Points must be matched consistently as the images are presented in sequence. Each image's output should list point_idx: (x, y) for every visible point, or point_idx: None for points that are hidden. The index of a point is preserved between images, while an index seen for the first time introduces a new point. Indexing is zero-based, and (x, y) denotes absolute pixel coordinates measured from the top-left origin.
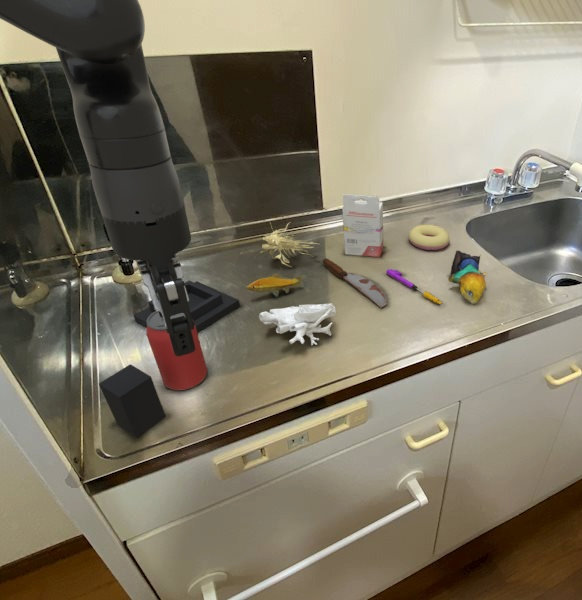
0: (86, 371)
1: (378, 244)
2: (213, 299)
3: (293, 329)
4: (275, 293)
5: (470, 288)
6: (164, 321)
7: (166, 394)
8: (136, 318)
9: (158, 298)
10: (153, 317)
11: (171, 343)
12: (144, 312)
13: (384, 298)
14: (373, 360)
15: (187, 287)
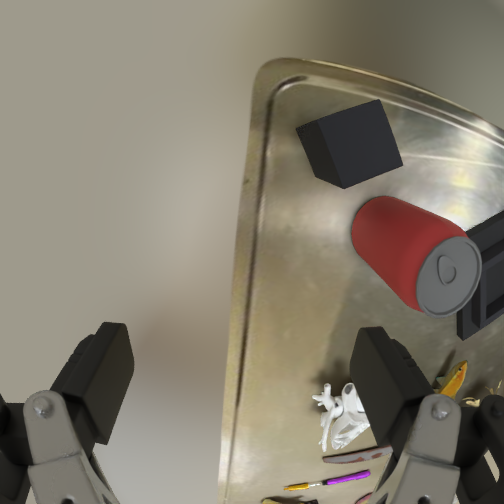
0: (465, 114)
1: None
2: (480, 318)
3: (333, 403)
4: (440, 379)
5: None
6: (42, 423)
7: (363, 191)
8: None
9: (390, 387)
10: (470, 253)
11: (98, 347)
12: None
13: (335, 462)
14: (247, 428)
15: None
